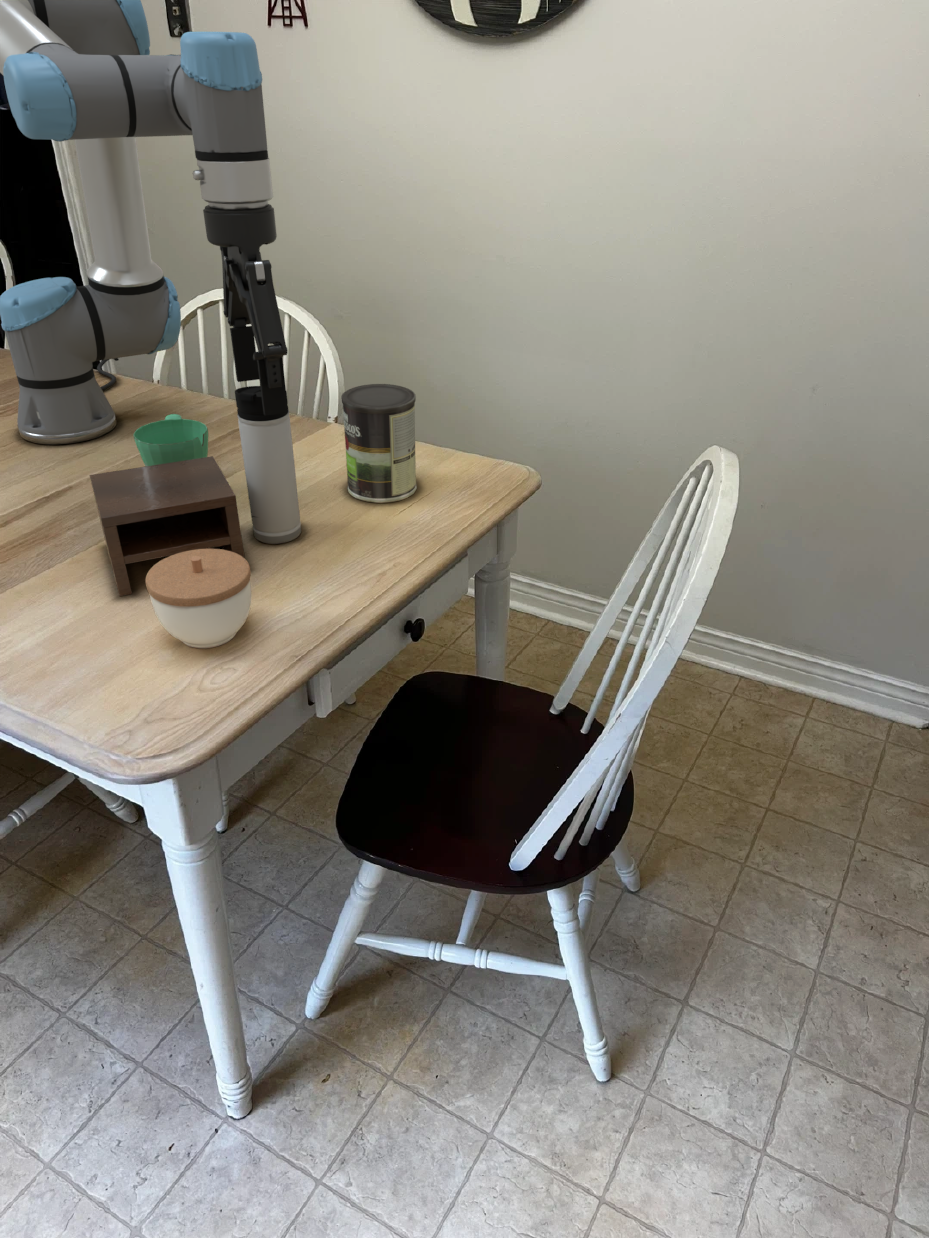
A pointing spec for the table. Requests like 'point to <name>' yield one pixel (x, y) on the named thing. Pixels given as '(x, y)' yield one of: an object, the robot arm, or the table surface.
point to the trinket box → (201, 595)
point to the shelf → (165, 512)
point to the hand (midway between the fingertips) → (261, 396)
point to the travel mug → (268, 469)
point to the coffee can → (380, 442)
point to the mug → (171, 440)
